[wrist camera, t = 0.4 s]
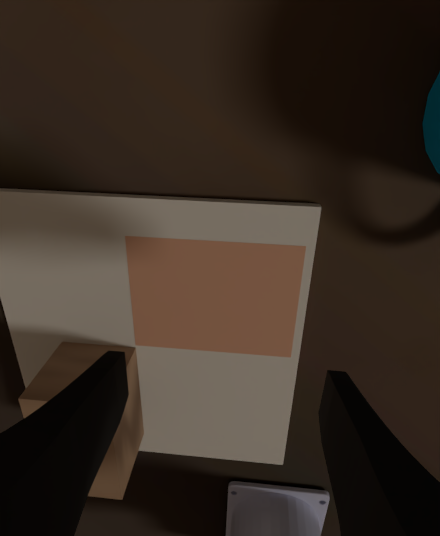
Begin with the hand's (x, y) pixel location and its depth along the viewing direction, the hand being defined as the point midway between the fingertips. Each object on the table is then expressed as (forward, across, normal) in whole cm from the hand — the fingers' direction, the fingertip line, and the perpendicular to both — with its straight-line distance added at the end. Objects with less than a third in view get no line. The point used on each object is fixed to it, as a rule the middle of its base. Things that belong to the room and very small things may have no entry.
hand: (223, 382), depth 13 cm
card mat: (+9, +5, +6) cm, 12 cm away
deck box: (+9, +9, +10) cm, 16 cm away
